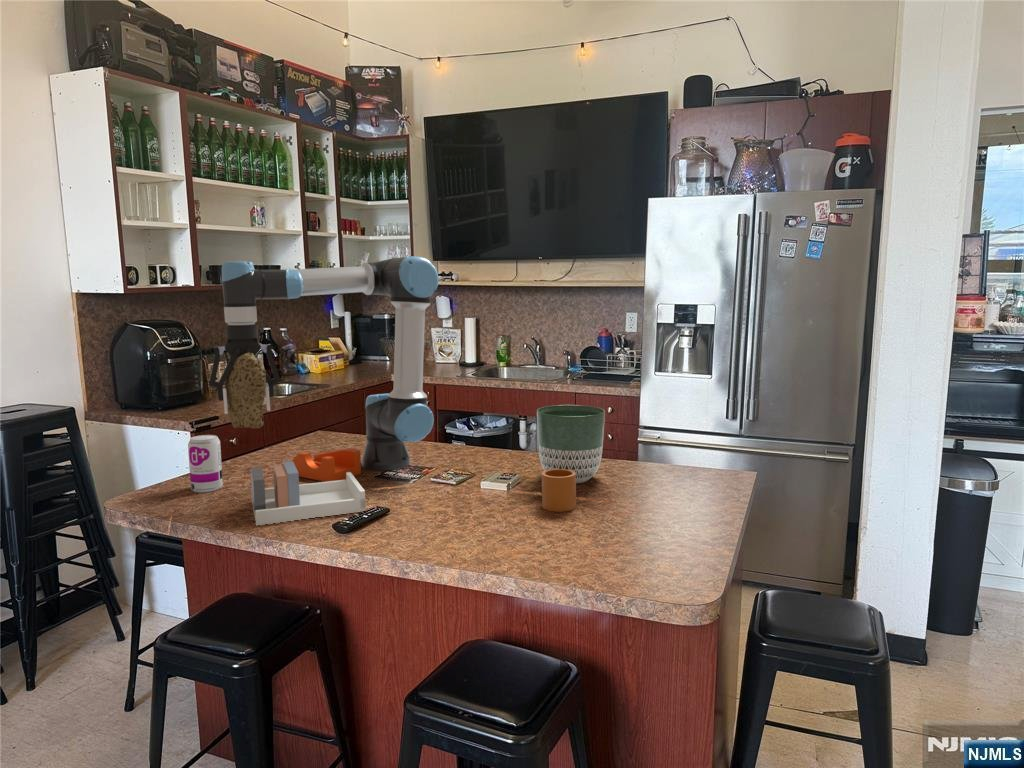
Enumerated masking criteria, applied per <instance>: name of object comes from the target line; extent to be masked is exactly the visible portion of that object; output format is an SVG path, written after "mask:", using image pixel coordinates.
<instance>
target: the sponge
mask: <svg viewBox="0 0 1024 768" xmlns="http://www.w3.org/2000/svg"><path fill="white" fill-rule="evenodd" d="M257 358H258V357H257ZM257 358H256V357H255V356H254V354H253V353H246V354H243V355H241V356H239V357H238V358H237V359H236V361H235V363H234V365H233V367H232V369H231V371H230V373H229V375H228V377H227V379H226V381H225V383H224V385H223V387H226V395H227V408H228V414H227V415H228V418H229V420H230V423H231V425H232V427H233V428H235V429H238V428H241V429H242V428H246V429H248V428H249V429H261V428H262V427H263V426H264V421H263V416H264V412H263V404H264V401H265V398H266V392H265V387H266V384H267V381H266V372H267V371H266V372H265V370H266V369H265V366H264V364H263V362H262V361H261V360H260V359H259V358H258V359H259V360H258V359H257Z"/></svg>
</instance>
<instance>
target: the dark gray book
mask: <svg viewBox="0 0 1024 768" xmlns="http://www.w3.org/2000/svg"><path fill="white" fill-rule="evenodd" d="M250 480H251V482H250V483H251V484H250V485H251V490H252V494H251V502H252V501H253V506H254V511H253V513H254V512H255V510H262V509H266V502H265V488H266V486H265V482H266V481H265V476H264V473H263V470H262V467H261V466H254V467H253V466H252V467H250ZM253 506H252V507H253Z"/></svg>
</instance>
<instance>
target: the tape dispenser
mask: <svg viewBox="0 0 1024 768" xmlns="http://www.w3.org/2000/svg"><path fill="white" fill-rule="evenodd" d="M361 454H362V453H361V450H359V449H356V448H355V449H354V448H345V449H340V450H332V451H328V452H322V453H321V452H320V453H317V454H314V455H313V458H312V453H311V452H307V451H302V452H298V453H297V455H295V457H293V459H292V460H291V461H293V462H294V464H295V467H296V469H297V471H298V473H299V478H300V477H301V478H306V479H309V480H315V481H318V482H328V481H337V480H346V472H351V473H352V475H353V476H354V477H355V476H358V475H360V474H362V457H361V456H362V455H361Z"/></svg>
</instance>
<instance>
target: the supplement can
mask: <svg viewBox="0 0 1024 768" xmlns="http://www.w3.org/2000/svg"><path fill="white" fill-rule="evenodd" d="M187 449H188V453H187V454H188V466H189V481H190V483H189V484H190V490H191V491H193V492H194V493H200V494H201V493H211V492H215V491H218V490H220V489H221V488H223V468H222V465H223V464H222V450H221V440H220V439H219V437H218V436H217V435H215V434H202V435H196V436H192V437H190V438H189V441H188V443H187Z"/></svg>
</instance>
